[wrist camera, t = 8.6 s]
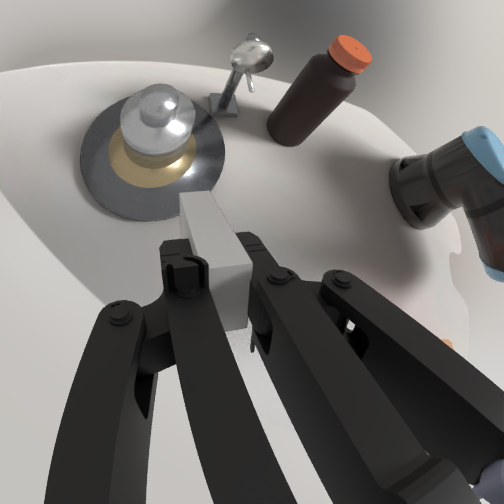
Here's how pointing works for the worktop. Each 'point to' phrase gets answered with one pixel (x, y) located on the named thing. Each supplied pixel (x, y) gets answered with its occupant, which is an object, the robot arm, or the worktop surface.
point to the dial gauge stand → (241, 73)
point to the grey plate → (148, 180)
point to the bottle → (318, 91)
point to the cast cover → (156, 126)
